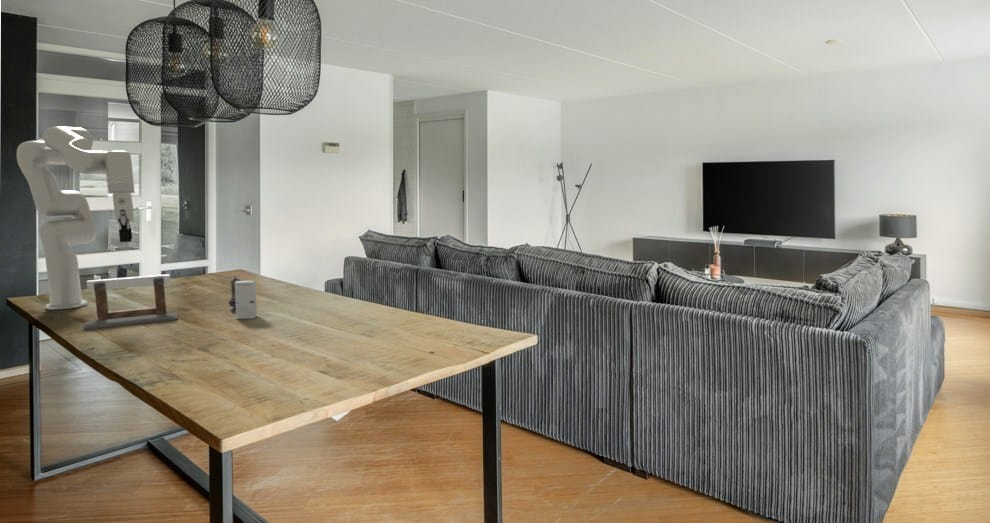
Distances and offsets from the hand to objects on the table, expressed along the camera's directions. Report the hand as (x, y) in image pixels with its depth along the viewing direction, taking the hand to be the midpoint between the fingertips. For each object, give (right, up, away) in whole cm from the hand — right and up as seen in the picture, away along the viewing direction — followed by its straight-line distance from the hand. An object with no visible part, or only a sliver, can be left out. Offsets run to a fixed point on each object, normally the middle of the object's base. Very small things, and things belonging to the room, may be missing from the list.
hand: (126, 240), depth 208 cm
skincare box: (+41, -26, -1) cm, 48 cm away
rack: (0, -25, +4) cm, 26 cm away
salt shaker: (+33, -24, +11) cm, 42 cm away
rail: (0, -15, +2) cm, 16 cm away
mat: (+5, -26, -5) cm, 27 cm away
